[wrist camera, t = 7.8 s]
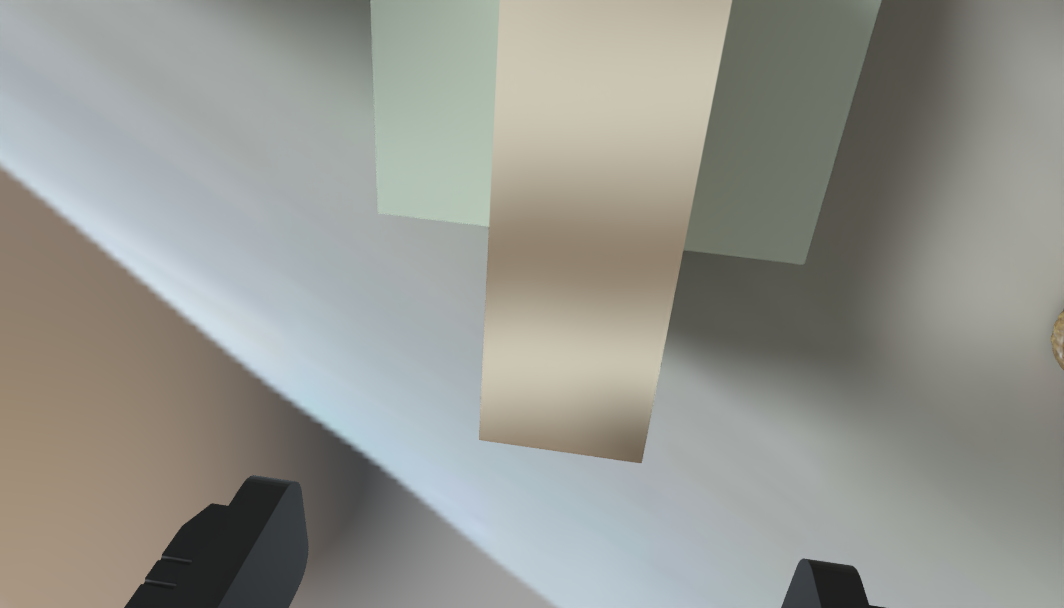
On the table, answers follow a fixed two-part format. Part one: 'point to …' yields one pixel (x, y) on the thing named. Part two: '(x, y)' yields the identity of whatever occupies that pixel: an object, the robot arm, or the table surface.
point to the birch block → (590, 213)
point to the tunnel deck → (731, 139)
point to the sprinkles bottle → (1059, 340)
